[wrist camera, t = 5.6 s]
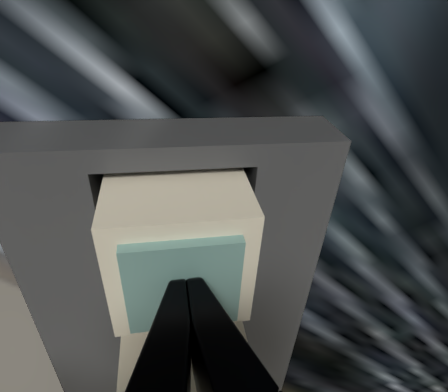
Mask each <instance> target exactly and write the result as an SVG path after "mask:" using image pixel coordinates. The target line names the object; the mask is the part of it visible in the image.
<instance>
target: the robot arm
mask: <svg viewBox="0 0 448 392" xmlns="http://www.w3.org/2000/svg"><path fill="white" fill-rule="evenodd" d="M191 363H192V370H193V376H194V381H195V386H196V391H197V392H278V391H279V387H278V385H277V384H276V382H275V381H274V379H273V378H272V377H271V375H270V374H269V372H268V371H267V369H266V368H265V367H264V365H263V364H262V362H261V361H260V359H259V358H258V357H257V355H256V354H255V352H254V351H253V349H252V348H251V347H250V345H249V344H248V342H247V341H246V339H245V338H244V337H243V335H242V334H241V332H240V331H239V329H238V328H237V327H236V325H235V324H234V322H233V321H232V319H231V318H230V316H229V315H228V314H227V312H226V311H225V309H224V308H223V306H222V305H221V304H220V302H219V301H218V299H217V298H216V296H215V295H214V294H213V292H212V291H211V289H210V288H209V286H208V285H207V284H206V282H205V281H204V279H203V278H201V277H198V278H188V279H187V280H185V279H177V280H171V281H169V283H168V285H167V288H166V290H165V293H164V295H163V298H162V300H161V303H160V305H159V308H158V310H157V313H156V315H155V318H154V320H153V323H152V325H151V328H150V330H149V333H148V335H147V337H146V340H145V342H144V345H143V347H142V350H141V352H140V355H139V357H138V360H137V362H136V365H135V367H134V370H133V372H132V375H131V377H130V380H129V382H128V385H127V387H126V390H125V392H191ZM279 392H282V391H279Z"/></svg>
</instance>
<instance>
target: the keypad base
mask: <svg viewBox="0 0 448 392" xmlns="http://www.w3.org/2000/svg"><path fill="white" fill-rule="evenodd" d="M350 144H351V141H350V140H349V139H348V138H347V137H346V136H345V135H344V134H343V133H341V132H340V131H339V130H338V129H337V128H336V127H335V126H334V125H332V124H331V123H330V122H329V121H328V120H327V119H326V118H324V117H323V116H290V117H238V118H186V119H133V120H81V121H29V122H0V243H1V246H2V248H3V250H4V253H5V255H6V257H7V260H8V262H9V264H10V267H11V269H12V271H13V274H14V276H15V278H16V281H17V283H18V285H19V288H20V290H21V292H22V295H23V297H24V299H25V302H26V304H27V306H28V309H29V311H30V313H31V316H32V318H33V320H34V323H35V325H36V327H37V330H38V332H39V334H40V337H41V339H42V341H43V344H44V346H45V348H46V351H47V353H48V355H49V358H50V360H51V362H52V365H53V367H54V369H55V371H56V374H57V376H58V378H59V381H60V383H61V386H62V388H63V390H64V392H116V390H117V378H118V366H119V354H120V342H121V336H120V337H115V335H114V331H113V326H112V322H111V317H110V313H109V308H108V304H107V299H106V295H105V290H104V286H103V282H102V277H101V273H100V268H99V264H98V259H97V255H96V250H95V246H94V241H93V237H92V232H91V227H92V223H93V218H94V214H95V210H96V205H97V201H98V197H99V192H100V188H101V184H102V179H103V174H109V173H131V172H154V171H176V170H198V169H220V168H242V167H243V169H244V172H245V174H246V176H247V178H248V181H249V183H250V185H251V187H252V190H253V192H254V194H255V196H256V198H257V201H258V203H259V205H260V207H261V210H262V212H263V214H264V216H265V220H264V227H263V233H262V240H261V247H260V254H259V261H258V268H257V275H256V282H255V289H254V296H253V302H252V309H251V316H250V320H248V321H243V325H244V329H245V333H246V337H247V341H248V344H249V345H250V347H251V348H252V349H253V351H254V352H255V354H256V355H257V357H258V358H259V359H260V361H261V362H262V364H263V365H264V367H265V368H266V369H267V371H268V372H269V374H270V375H271V377H272V378H273V379H274V381H275V382H276V384H277V385H278V387H279V391H281V390H282V386H283V383H284V379H285V376H286V372H287V369H288V365H289V361H290V358H291V354H292V351H293V347H294V344H295V340H296V337H297V333H298V329H299V326H300V322H301V319H302V315H303V312H304V308H305V304H306V301H307V297H308V294H309V290H310V287H311V283H312V280H313V276H314V272H315V269H316V265H317V262H318V258H319V255H320V251H321V247H322V244H323V240H324V237H325V233H326V230H327V226H328V223H329V219H330V215H331V212H332V208H333V205H334V201H335V198H336V194H337V190H338V187H339V183H340V180H341V176H342V173H343V169H344V166H345V162H346V158H347V155H348V151H349V148H350ZM279 391H278V392H279Z"/></svg>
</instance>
